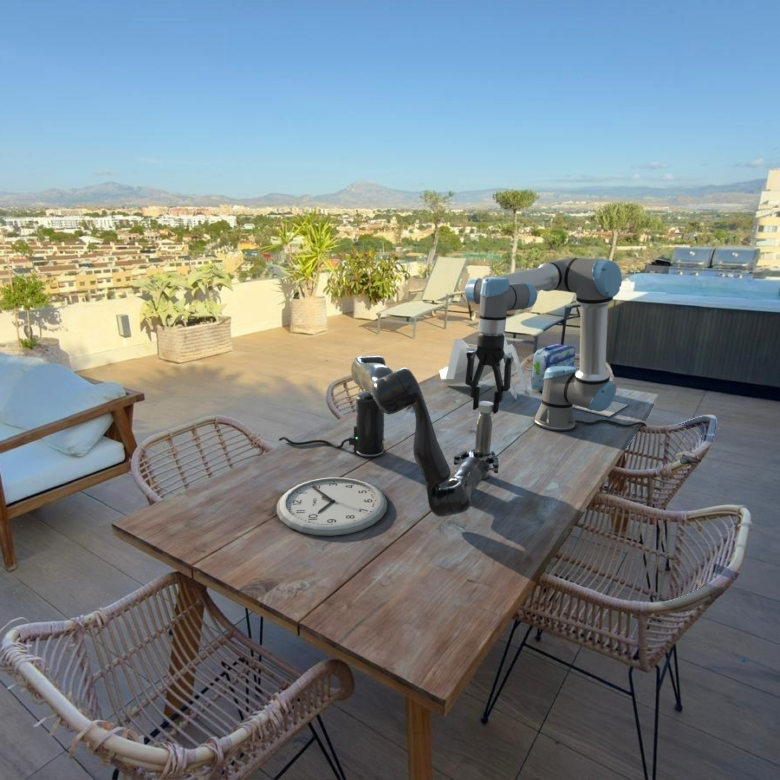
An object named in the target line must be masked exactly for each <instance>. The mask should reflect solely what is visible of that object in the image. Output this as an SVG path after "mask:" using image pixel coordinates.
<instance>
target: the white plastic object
mask: <svg viewBox="0 0 780 780" xmlns="http://www.w3.org/2000/svg"><path fill="white" fill-rule="evenodd" d="M503 334H504V336H505V338H504V353H505V355H507V356H509V357H511V356H512V357H513V358H514V359H513V363H514V366H515V369H516V372H517V376H518V380H519V382H520V385H521V389H522V391H523V393H524V395H525V396H526V397H528V396H531V395H530V390H529V388H528V387H529V386H528V384H527V381H526V378H525V375H524V371H523V369H522V368H523V367H522V366H521V362H520V359H519V355H518V352H517V349H516V347H515V346H514V345H513V343H511V344H508V341H507V337H506V334H505V333H503ZM476 349H477V345H473V346H469V345H468V343H466V342H465V340H464V339H463V338H460V339H458V338H454V340H453V344H452V349H451V353H450V357H449V362H448V366H446V367H444V368H442V369H440V370H439V371H438V372H439V376H440V381H442V383H443V384H444V385H445V386H449V385H458V384H465V381H466V371H467V362H468V360H467V355H466V354H467V353H468V352H470V351H476ZM478 363H479V359H478V357H477V355H476V357H475V358H474V369H473V378H474V376H475V373H476V370H477V368H478ZM499 363H500V366H502V370H503V371H504V367H505V363H504V359H502V360H501V361H500V362H499ZM492 372H493V369H492V366H489V365H485V366H484V369H483V372H482V374H481V377H480V380H479V382H478V383H480V382H482V381H484V378H485V377H486V376H487V375H489V374H490V373H492ZM473 378H472V381H473ZM508 391H509V393H510V394H511V395H512V397H513V398H514V399H515V400H517V392H516V391H517V390H516V388H515V385H514V381H513V378H512V377H511V382H510V389H509V390H508Z"/></svg>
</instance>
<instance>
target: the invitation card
mask: <svg viewBox="0 0 780 780" xmlns="http://www.w3.org/2000/svg"><path fill="white" fill-rule="evenodd" d="M628 406H629V404H627V403H623V402H618V401H614V400H613V401H612V403H611V404H610V406H609V407H608V408H607V409H605V410H604V411H601V412H598V411H594V410H589V409H587V408H583V407H580V406H577V405H575V406H574V407H573V409H575V410H581V411H584V412H587V413H593V414H596V415H600V416H604V417H608V418H609V417H611V416H613V415H614V414H616V413H617V412H619V411H621V410H623V409H624V408H626V407H628Z"/></svg>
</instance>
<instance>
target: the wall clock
mask: <svg viewBox="0 0 780 780" xmlns="http://www.w3.org/2000/svg"><path fill="white" fill-rule="evenodd" d="M387 509H388V500H387V498H386V496H385V494H384V493H383V492H382V491H381V490H380V489H379V488H377V487H376V486H374V485H372V484H371V483H369V482H365V481H362V480H359V479H355V478H349V477H338V476H337V477H335V476H333V477H332V476H331V477H322V478H317V479H312V480H307V481H305V482H302V483H299V484H297V485H295V486H293V487H292V488H290V489H288V490H287V491H286V492H285V493H284V494H283V495H281V496H280V498H279V499H278V502H277V503H276V515H277V517H278V518H279V520H280V521H281V522H282V523H283V524H285V525H286V526H287V527H288V528H290V529H293V530H295V531H297V532H299V533H303V534H308V535H312V536H327V537H328V536H329V537H331V536H332V537H333V536H342V535H350V534H352V533H356V532H361V531H363V530H366V529H368V528H369V527H372V526H373V525H375V524H376V523H378V522H379V521H380V520H381V519H382V518H383V517H384V516H385V514H386V512H387Z"/></svg>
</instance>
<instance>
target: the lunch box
mask: <svg viewBox="0 0 780 780" xmlns="http://www.w3.org/2000/svg"><path fill="white" fill-rule="evenodd" d="M575 357H576V349H575V346H572V345H565V344H560V343H555V344H552V345H547V346H545V347H542V348H539V349H537V350H536V351H535V353H534V355H533V358H532V363H531V364H532V365H531V376H530V377H531V378H530V387H531V389H532V390H536V391H539V392H540V391H541V392H542V391H543V382H544V379H543V378H544V374H545V371H546V369H547V368H550V367H554V366H572V367H575V360H576V358H575Z"/></svg>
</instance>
